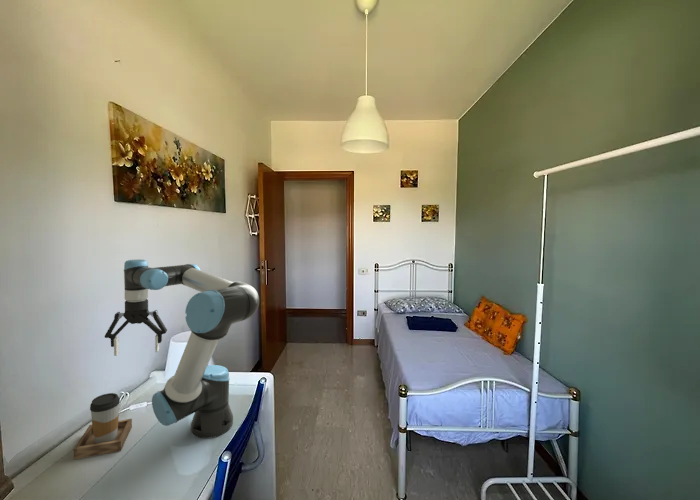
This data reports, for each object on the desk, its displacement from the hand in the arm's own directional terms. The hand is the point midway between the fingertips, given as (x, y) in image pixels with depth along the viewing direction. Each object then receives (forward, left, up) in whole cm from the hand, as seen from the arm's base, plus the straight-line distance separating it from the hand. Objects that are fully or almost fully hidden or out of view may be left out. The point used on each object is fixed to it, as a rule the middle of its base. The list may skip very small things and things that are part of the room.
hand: (137, 352), depth 124 cm
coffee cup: (+7, +13, -26) cm, 30 cm away
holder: (+7, +13, -27) cm, 31 cm away
